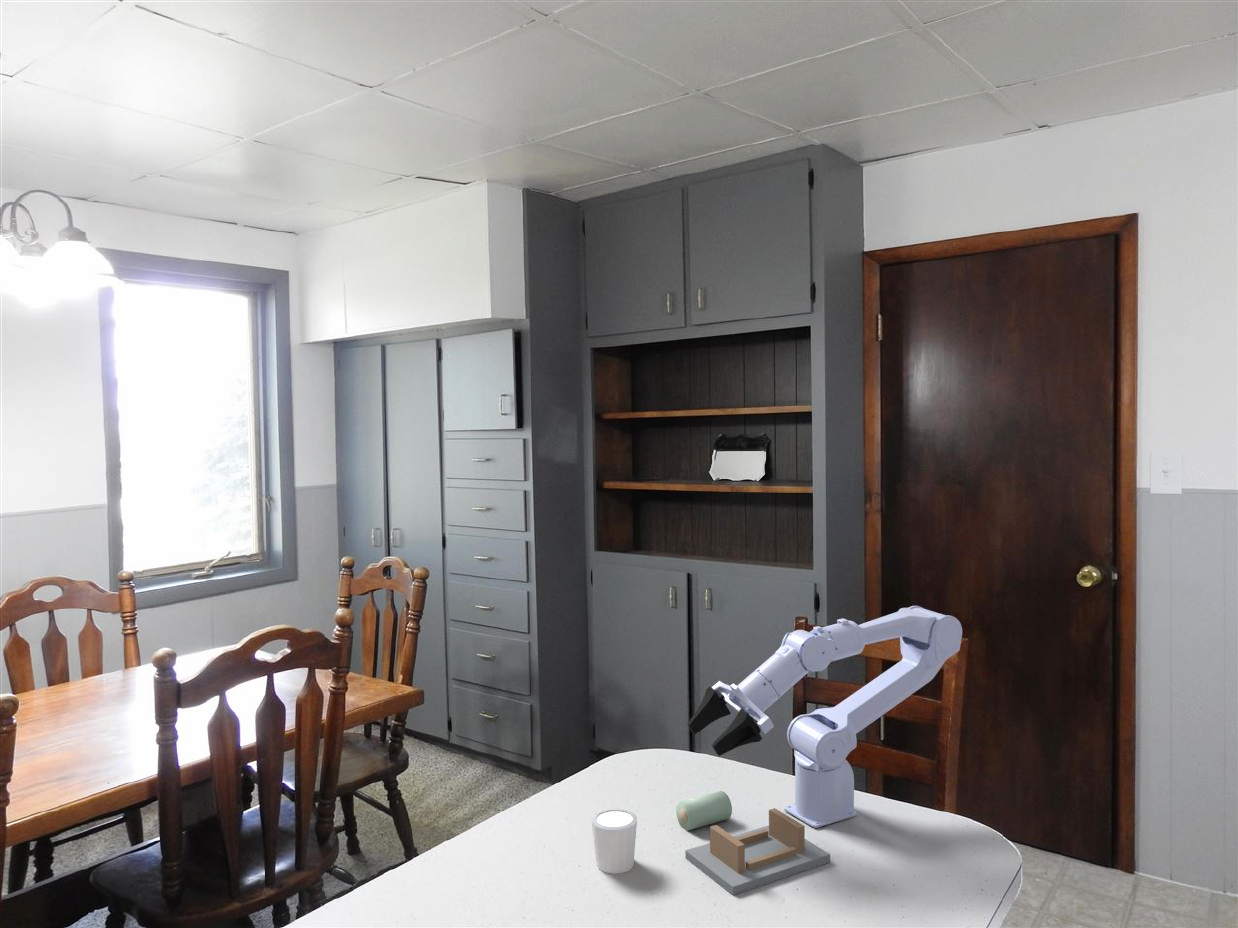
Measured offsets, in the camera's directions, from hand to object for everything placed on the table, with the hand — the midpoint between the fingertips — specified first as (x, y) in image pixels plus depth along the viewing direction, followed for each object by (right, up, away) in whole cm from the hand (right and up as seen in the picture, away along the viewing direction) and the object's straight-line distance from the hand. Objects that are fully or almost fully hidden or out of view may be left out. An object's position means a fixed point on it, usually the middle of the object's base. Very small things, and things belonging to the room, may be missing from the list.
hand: (702, 739), depth 140 cm
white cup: (-14, -17, -7) cm, 23 cm away
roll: (+1, -16, +6) cm, 17 cm away
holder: (+8, -16, -6) cm, 19 cm away
